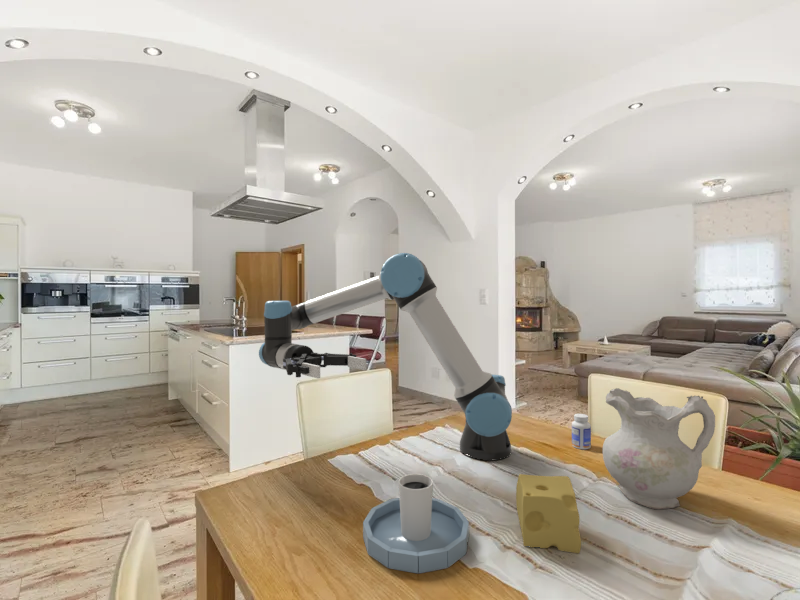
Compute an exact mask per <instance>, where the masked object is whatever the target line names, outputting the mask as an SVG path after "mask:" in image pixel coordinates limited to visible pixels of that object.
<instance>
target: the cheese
mask: <svg viewBox="0 0 800 600" xmlns="http://www.w3.org/2000/svg"><path fill="white" fill-rule="evenodd" d="M515 489H516V491H515V492H516V493H515V501H516V502H515V503H516V505H515V506H516V513H517V517H518V523H519V526H520V530H521V536H522V537H521V538H522V542H523V543H522V544H523V546H524V547H525V546H530V547H529V548H534V547H540V548H539V549H549V548H550V547H555V548H556V549H557V550H558V551H562V552H567V553H573V554H580V552H581V548H582V539H581V538H582V537H581V534H580V514H579V509H578V504H577V497H576V493H575V490H574V488H573V484H572V481H571V478H569V476H566V475H563V476H562V475H555V476H554V475H553V476H552V475H534V474H523V473H522V474H521V473H519V474H518V477H517V482H516V487H515Z"/></svg>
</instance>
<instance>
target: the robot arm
mask: <svg viewBox="0 0 800 600" xmlns="http://www.w3.org/2000/svg"><path fill="white" fill-rule="evenodd" d="M437 290H438V287H437V286H436V284H435V282H434V280H433V279H432V277H431V276H430V273H429V271H428V268H427V267H426V265H425V263H424V262H423V261H422V260H420V259H419V258H418V257H417V256H416V255H414V254H412V253H408V252H400V253H396V254H393V255H392V256H390V257H388V258H387V259H386V260H385V262H384V263H383V265H382V267H381V270H380V272H379V274H378V275H375V276H373V277H370V278H368V279H365V280H362V281H359V282H357V283H354V284H351V285H349V286H346V287H342V288H340V289H337V290H334V291H332V292H331V291H330V292H329V293H325V294H324V295H320V296H317V297H315V298H312V299H309V300H306V301H305V302H300V303H298V304H295V305H292V302H291V301H290V300H267V301H266V302H265V303H264V311H263V317H264V319H263V320H264V342H263V343H262V344H261V345H260V347H259V350H258V356H259V360H260V361H261V362H262V363H263V364H265V365H267V366H269V367H270V368H276V369H279V370H285V371H286V374H287V375H288V376H292V375H293V374H294V373H295V378H301V377H302V375H303V376H307V377H310V378H314V379H321V368H326V367H327V366H333V367H334V366H336V367H337V366H340V367H341V366H343V367H346V366H347V367H348V368H352V369H358V370H362V371H366V370H367V358H363V357H358V356H357V354H353V352H350V353H349V354H343V353H342V354H341V353H329V352H325V353H319V352H314V350H313V349H312V348H311V347H310V346H307V345H303V344H297V343H292V340H293V339H292V336H293V335H292V334H293V333H292V332H293V331H295V330H301V329H305V328H307V327H309V326H311V325H313V324H317V323H319V322H322V321H325V320H327V319H332V318H334V317H336V316H340V315H342V314H345V313H348V312H351V311H354V310H357V309H360V308H362V307H365V306H369V305H371V304H374V303H377V302H381V301H383V300H385V299H388V300H390V301H395V303H396V305H397V306H398V308H399V310H400V311H403V312H407V313H408V314H409V315H410V317H411V319H412V320H413V321H414V323H415V325H416V326H417V328H418V330H419V331H420V333H421V335H422V336H423V338H424V339H425V341H426V343H427V344H428V346H429V347H430V349H431V351H432V352H433V354H434V356H435V357H436V359H437V360H438V362H439V363H440V365H441V367H442V368H443V370H444V371H445V373H446V375H447V377H448V378H449V380H450V381H451V383H452V384H453V386H454V389H455V390H454V395H453V397H454V399H455V400H456V402H457V403H458V405H459V407H460V408H461V411H463V413H464V416H465V425H464V428H463V431H462V435H461V437H460V440H459V451H460V452H461V453H462V454H463V453H465V454H468V455H470V456H472V457H473V458H472V459H475V458H477V459H476V460H480V459H483V461H493V460H492V459H500V458H504V457H507V456H508V457H510V456H509V455H511V454H512V444H511V441H510V438H509V434H508V432H507V429H508V427H509V426H510V424H511V421H512V418H513V410H512V405H511V404H510V402H509V400H508V398H507V395H506V386H507V385H506V378H505V377H504V376H503V375H501V374H492V373H491V372H490V373H489V372H486V371H483V369H482V367H481V366H480V364H479V363H478V361H477V360H476V358H475V357H474V355H473V352H471V351H470V349H469V347H468V345H467V344H466V343H465V341H464V339H463V338H462V336H461V334H460V332H459V331H458V329H457V328H456V326H455V325H454V323H453V322H452V320H451V318H450V317H449V315H448V314H447V311H446V310H445V309H444V307H443V306H442V304H441V302H440V301H439V299H438V298H437V297H438V296H437V292H438V291H437ZM322 362H323V363H322ZM510 453H511V454H510ZM508 457H507V458H508ZM504 459H505V458H504ZM500 460H501V459H500Z"/></svg>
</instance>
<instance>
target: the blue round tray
mask: <svg viewBox="0 0 800 600" xmlns="http://www.w3.org/2000/svg"><path fill="white" fill-rule="evenodd" d="M468 537H469V538H470V522H469V520H468V519H467V517H466V516H465V515H464V514H463V512H462V511H461V510H460V509H459V507H457V506H456V505H453V504H451V503H449V502H446V501H444V500H442V499H440V498H434V497H432V514H431V533H430V536H429V537H428V538H427V539H424V540H421V541H412V540H408V539H406V538H404V536H403V535H402V533H401V517H400V497H394V498H390V499H388V500H386V501H383V502H382V503H380V504H377V505H376V506H374V507H371V509H370V510H369V512H368V513H367V515H366V517H365V519H364V520H363V521H362V538H363V542H364V546H365V549H366V552H367V555H369V556H370V557H372V558H373V559H374V560H376V561H377V562H378V563H380V564H381V565H382V566H384V567H385V568H387V569H391V570H396V571H400V572H401V571H402V572H408V573H413V574H424V573H429V572H435V571H440V570H443V569H444V570H445V569H448V568H450V567H451V566H452V565H453V564H455V563H456V562H458V561H459V560H460V559H462V558H463V557H464V556H465V555H467V552H468V551H467V550H468V545H467V542H468V543H469V539H468Z"/></svg>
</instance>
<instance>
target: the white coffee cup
mask: <svg viewBox="0 0 800 600" xmlns="http://www.w3.org/2000/svg"><path fill="white" fill-rule="evenodd" d="M433 486H434V481H433V479H432V478H431V477H430V476H428V475H425V474H422V473H409V474H406V475H402V477H400V478H399V479H398V492H399V494H398V495H399V497H398V498H400V517H401V533H402V535H403V536H404V538H406V539H408V540H412V541H421V540H424V539H427V538H428V537H429V536H430V533H431V514H432V498H433Z"/></svg>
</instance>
